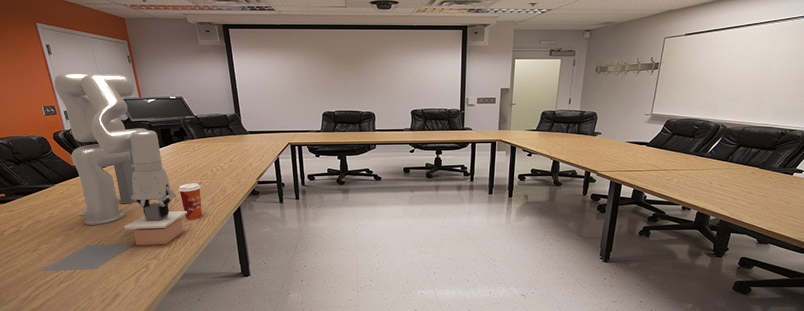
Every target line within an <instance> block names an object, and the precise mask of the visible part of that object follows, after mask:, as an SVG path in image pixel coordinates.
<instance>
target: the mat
mask: <svg viewBox="0 0 804 311" xmlns="http://www.w3.org/2000/svg"><path fill="white" fill-rule="evenodd" d="M135 245H136V243H123V244H122V243H121V244H118V243H117V244H87V245H85V246H83V247H82V248H79V249H78V250H76V251H74V252H72V253H70V254H68V255H67V256H65V257H63V258H61V259H59V260H57V261H55V262H53V263H52V264H50V265H48V266H47V267H44V268H43V269H40V270H39V272H51V271H53V272H54V271H55V272H56V271H73V270H75V271H76V270H80V271H81V270H97V269H98V268H100V267H102V266H103V265H105V264H106V263H108V262H109V261H111V260H113V259H115V257H117V256H119V255H120V254H122V253H123V252H125V251H127V250H128V249H130V248H131V247H133V246H135Z"/></svg>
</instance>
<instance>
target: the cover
mask: <svg viewBox="0 0 804 311" xmlns="http://www.w3.org/2000/svg"><path fill="white" fill-rule="evenodd" d="M150 204H151V205H149V206H147V207H145V208H144V210H143V212H144V211H145V214H144V215H143V216H141V217H140V218H138V219H136V220H134V221H132V222H130V223H128V224H126V225H124V226H123V227H124V230H129V229H130V230H135V229H140V228H165V227H167V226H168V225H170V224H171V223H173V222H174V221H176V220H178V219H179V218H182V217H184V216H185V214H187V211H184V210H183V211H180V210H179V211H169V214H168V215H166V216H165V217H161V214H160V208H159V207H160V206H161V205H160V203H159V202H157V203H156V202H153V203H150ZM145 216H146V218H145Z"/></svg>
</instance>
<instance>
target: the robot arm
mask: <svg viewBox="0 0 804 311" xmlns="http://www.w3.org/2000/svg"><path fill="white" fill-rule="evenodd" d="M53 82H54V84H53V85H54V89H55V92H56V93H57V95H58V97H59V98H60V100H61V101H62V103H63V105H64V107H65V110H66V113H67V116H68V121H69V126H70V131H71V134H72V136H73V138H74V140H76V141H77V142H80V143H89V142H91V143H92V142H97V143H98V144H88V145H83V146H79V147H77V148H75V149H74V150H73V151H72V153H71V158H72V162H73V163H74V166H75V168H76V170H77V173H78V176H79V180H80V184H81V189H82V192H83V197H84V202H85V207H86V209H83V210H81V212H79V217H85V219H84V221H83V222H84V225H87V226H95V225H96V226H97V225H99V226H100V225H104V224H108V223H113V222H115V221H118V220H120V219H122V218H124V217H125V215H126V213H125V212H124V211H121V210H120V209H119V208H120V207H119V204H118V198H117V192H116V186H115V182H114V179H113V176H112V174H111V173H109V172H108V171H106V170H105V169H103V168H106V167H111V166H114V165H118V164H123V163H126V162H128V161H129V159H130V152H129V151H132V156H133V162H134V164H132V165H131V166H132V167H134V168H135V171H134V172H133V175H132V189H133V195H132V196H131V198H132V199H133V200H135V201H136V203H137V204H139V205H140V207H141V208H142V209H143V210H142V211H143V214H144V216H145V211H144V208H145V207H147V206H149V205H151V204H152V203H151V202H150V201H151V200H158V203H160V205H161V206H160V207H159V208H160V214H161V217H165V216H166V215H168V214H169V212H170V211H169V204H170V202H171V201H172V200H174V198H176V196H177V194H176V193H175V192H174V191H173V190H172V189H171V184H170V182H169V178H168V174H167V172H166V169H165V168H163V162H162V156H161V151H160V144H159V138H158V134H157V132H156V131H154V130H148V129H146V128H131V129H129V128H128V129H126V128H125V124H124V123H123V121H122V120H121V119H120V117H121V116H123V115H125V114H126V113H127V111H128V105H127V102H125V100H124V99H123V98H126V97H128V98H129V97H131V96H132V95H133V94H134V92H135V87H134V84H133V81H131V79H130V77H128V76H126V75H124V74H119V73H117V74H113V73H100V72H97V73H96V72H62V73H59V74H57V75H56V76H55V78H54V81H53ZM145 218H146V216H145Z"/></svg>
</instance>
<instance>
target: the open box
mask: <svg viewBox="0 0 804 311" xmlns="http://www.w3.org/2000/svg"><path fill="white" fill-rule="evenodd" d="M183 226H184V224H183V220H182V217H181V218H179V219H178V220H176V221H174V222H173V223H171V224H170V225H168V226H167V227H165V228H140V229H133V234H134V235H133V236H134V240H135V245H136V246H148V245H149V246H150V245H167V244H168V243H170V242H172V240H174V239H176V238H177V237H178V236H180V235H182V233H184V231H185V230H184V227H183Z"/></svg>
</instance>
